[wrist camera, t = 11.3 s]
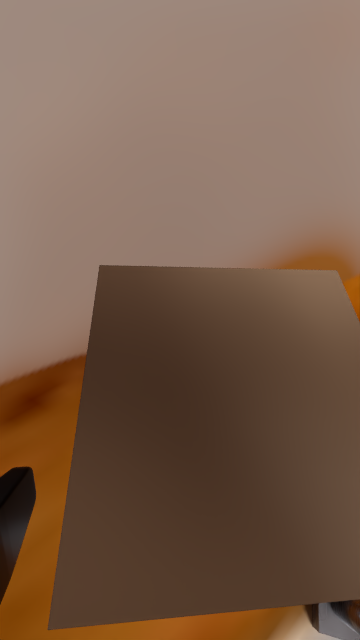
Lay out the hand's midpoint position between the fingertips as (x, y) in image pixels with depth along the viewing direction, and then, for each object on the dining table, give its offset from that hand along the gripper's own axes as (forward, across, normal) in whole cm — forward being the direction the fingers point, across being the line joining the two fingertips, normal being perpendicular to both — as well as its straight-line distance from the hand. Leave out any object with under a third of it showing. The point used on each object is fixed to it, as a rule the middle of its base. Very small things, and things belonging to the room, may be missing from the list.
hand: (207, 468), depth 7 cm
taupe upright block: (+7, 0, +6) cm, 9 cm away
